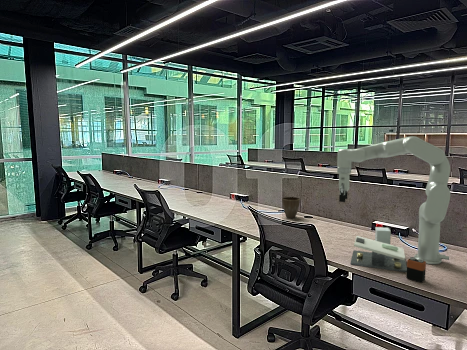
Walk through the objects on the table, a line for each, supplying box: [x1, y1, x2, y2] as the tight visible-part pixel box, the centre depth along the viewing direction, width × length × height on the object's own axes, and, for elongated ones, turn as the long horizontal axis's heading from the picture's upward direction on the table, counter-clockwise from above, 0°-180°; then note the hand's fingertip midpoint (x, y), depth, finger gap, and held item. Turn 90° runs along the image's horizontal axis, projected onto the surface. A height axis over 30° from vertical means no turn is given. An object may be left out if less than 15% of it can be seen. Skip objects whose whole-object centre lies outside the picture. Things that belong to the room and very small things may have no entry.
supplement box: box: [374, 226, 392, 245], centre depth 186 cm, size 7×7×13 cm
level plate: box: [353, 235, 406, 261], centre depth 169 cm, size 24×16×4 cm, turn 65°
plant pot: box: [281, 196, 301, 219], centre depth 265 cm, size 15×15×16 cm
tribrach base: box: [350, 249, 407, 273], centre depth 170 cm, size 26×20×6 cm
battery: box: [405, 256, 427, 283], centre depth 147 cm, size 4×7×10 cm, turn 43°
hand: (343, 200), depth 184 cm, fingers open, 9 cm apart
